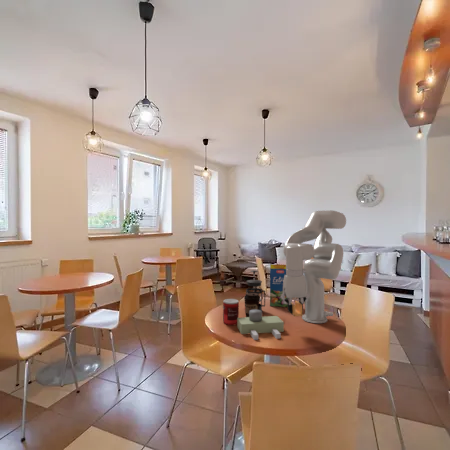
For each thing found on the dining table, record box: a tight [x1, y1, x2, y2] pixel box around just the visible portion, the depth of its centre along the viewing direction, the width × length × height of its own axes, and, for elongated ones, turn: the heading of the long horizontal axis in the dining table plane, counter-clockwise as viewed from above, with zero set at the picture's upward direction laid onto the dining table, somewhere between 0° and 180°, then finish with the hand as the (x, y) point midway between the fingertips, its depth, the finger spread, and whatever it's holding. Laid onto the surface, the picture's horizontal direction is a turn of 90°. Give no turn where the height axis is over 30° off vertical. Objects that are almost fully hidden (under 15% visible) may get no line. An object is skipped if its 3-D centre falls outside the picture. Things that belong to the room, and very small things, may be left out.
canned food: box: [222, 298, 240, 326], centre depth 142 cm, size 8×8×11 cm
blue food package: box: [269, 263, 288, 308], centre depth 172 cm, size 6×12×25 cm, turn 80°
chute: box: [291, 300, 303, 317], centre depth 129 cm, size 4×6×5 cm, turn 9°
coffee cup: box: [243, 292, 261, 317], centre depth 148 cm, size 9×8×13 cm
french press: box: [245, 269, 266, 312], centre depth 161 cm, size 12×9×23 cm
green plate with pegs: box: [236, 309, 285, 341], centre depth 129 cm, size 20×16×8 cm
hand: (295, 311), depth 129 cm, fingers closed on chute, 4 cm apart
